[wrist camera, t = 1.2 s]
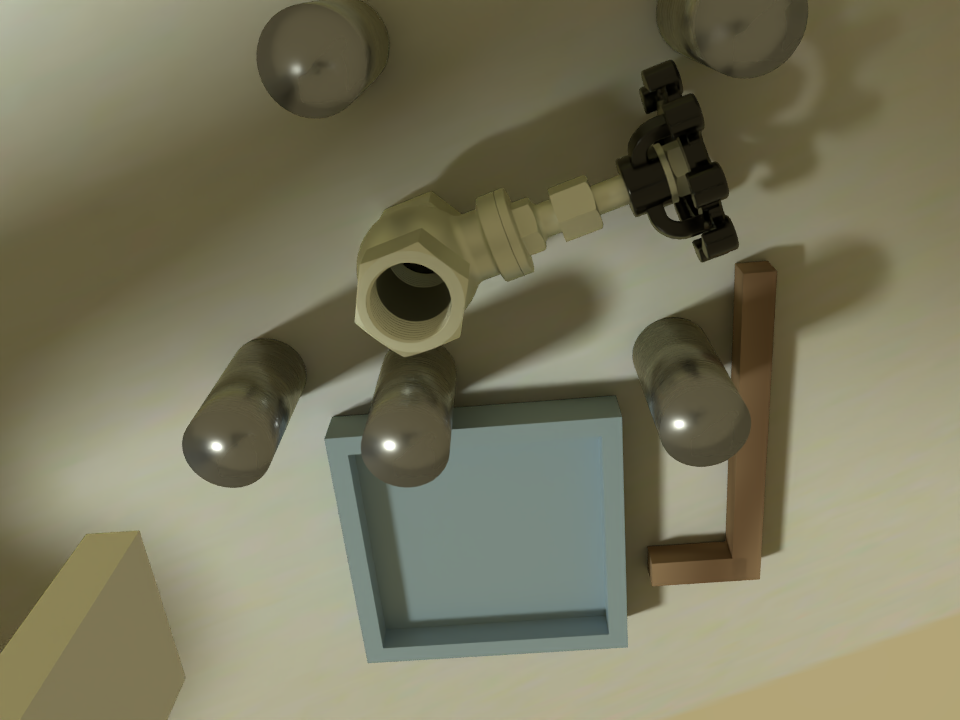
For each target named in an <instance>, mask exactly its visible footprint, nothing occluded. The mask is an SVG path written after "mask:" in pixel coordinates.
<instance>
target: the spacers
mask: <svg viewBox="0 0 960 720" xmlns="http://www.w3.org/2000/svg"><path fill="white" fill-rule="evenodd" d="M807 18H808V3H807V0H658V2H657V8H656V19H657V25H658V28H659V31H660V34H661V36H662V38H663V39H664V41H665V42H666V43H667V44H668V45H669V46H670V47H671V48H672V49H673V50H675V51H676V52H678V53H680V54H682V55H684V56H686V57H689V58H691V59H693V60H695V61H697V62H699V63H701V64H703V65H706V66H708V67H710V68H712V69H714V70H716V71H718V72H721V73H723V74H725V75H728V76H731V77H735V78H753V77H758V76H761V75H764V74H766V73H769V72H771V71H773V70H774V69H776V68H778V67H779V66H780V65H781V64H783V63H784V62H785V61H786V60H787V59H788V58H789V57H790V56H791V55H792V53H793V52H794V51H795V49H796V48H797V46H798V45H799V43H800V41H801V39H802V37H803V34H804V32H805V28H806V24H807ZM388 55H389V38H388V33H387V30H386V27H385V25H384V23H383V21H382V20H381V18H380V16H379V15H378V14H377V13H376V12H375V11H374V10H373V9H372V8H371V7H370V6H369V5H367V4H366V3H364V2H362V1H360V0H317V1H312V2H307V3H302V4H297V5H293V6H290V7H287V8H285V9H283V10H281V11H280V12H278V13H277V14H276V15H274V16H273V17H272V18H271V19H270V20H269V22H268V23H267V24H266V26H265V27H264V29H263V31H262V33H261V36H260V38H259V42H258V46H257V66H258V71H259V75H260V77H261V80H262V82H263V84H264V86H265V88H266V90H267V91H268V93H269V94H270V95H271V97H272V98H273V99H274V100H275V101H276V102H277V103H278V104H279V105H280V106H282V107H283V108H285V109H286V110H288V111H290V112H291V113H294V114H296V115H299V116H302V117H306V118H324V117H329V116H332V115H335V114H337V113H339V112H341V111H342V110H344V109H345V108H346V107H348V106H349V105H350V104H351V103H352V102H353V101H354V100H355V99H356V98H357V97H358V96H359V95H360V94H361V93H362V92H363V91H364V90H365V89H366V88H367V87H368V86H369V85H370V84H371V83H372V82H373V81H374V80H375V79H376V78H377V77H378V76H379V75H380V74H381V72H382V71H383V69H384V67H385V65H386V62H387V59H388ZM632 356H633V363H634V366H635V369H636V372H637V375H638V378H639V380H640V383H641V386H642V389H643V392H644V394H645V397H646V400H647V403H648V406H649V409H650V411H651V414H652V417H653V420H654V423H655V425H656V428H657V431H658V434H659V437H660V439H661V442H662V445H663V447H664V448H665V450H666V451H667V452H668V454H669V455H670V456H672V457H673V458H674V459H676V460H677V461H679V462H681V463H683V464H686V465H690V466H697V467H705V466H712V465H716V464H719V463H722V462H724V461H726V460H728V459H729V458H731V457H732V456H734V455H735V454H736V453H737V452H738V451H739V450H740V449H741V448H742V447H743V445H744V444H745V442H746V441H747V439H748V436H749V433H750V430H751V417H750V413H749V410H748V408H747V406H746V404H745V403H744V401H743V399H742V397H741V396H740V394H739V392H738V390H737V389H736V387H735V385H734V384H733V382H732V380H731V378H730V377H729V375H728V373H727V371H726V370H725V368H724V366H723V364H722V363H721V361H720V359H719V358H718V356H717V354H716V352H715V351H714V349H713V347H712V345H711V344H710V342H709V340H708V339H707V337H706V335H705V333H704V332H703V331H702V329H701V328H700V327H699V326H697V325H696V324H695V323H693V322H691V321H689V320H686V319H682V318H666V319H662V320H659V321H656V322H654V323H653V324H651V325H649V326H648V327H647V328H646V329H644V330H643V331H642V333H641V334H640V335H639V336H638V338H637V340H636V342H635V344H634V347H633V355H632ZM306 375H307V374H306V368H305V365H304V363H303V361H302V359H301V357H300V356H299V355H298V353H297V352H296V351H295V350H294V349H292V348H291V347H290V346H288V345H287V344H285V343H283V342H280V341H277V340H273V339H257V340H253V341H250V342H248V343H246V344H245V345H243V346H242V347H241V348H240V349H239V350H238V351H237V353H236V354H235V356H234V357H233V359H232V360H231V362H230V363H229V365H228V366H227V368H226V369H225V371H224V372H223V374H222V375H221V377H220V378H219V380H218V381H217V383H216V385H215V386H214V388H213V389H212V391H211V392H210V394H209V395H208V397H207V398H206V400H205V401H204V403H203V404H202V406H201V407H200V409H199V410H198V412H197V413H196V415H195V416H194V418H193V419H192V421H191V422H190V424H189V425H188V427H187V428H186V430H185V433H184V436H183V441H182V448H183V453H184V456H185V459H186V461H187V463H188V464H189V466H190V467H191V468H192V470H193V471H194V472H195V473H196V474H198V475H199V476H200V477H201V478H203V479H204V480H206V481H208V482H210V483H212V484H215V485H218V486H222V487H230V488H236V487H243V486H247V485H250V484H252V483H254V482H256V481H257V480H259V479H260V478H261V477H262V476H263V475H264V474H265V473H266V471H267V470H268V468H269V466H270V463H271V461H272V459H273V457H274V454H275V452H276V450H277V448H278V445H279V443H280V441H281V439H282V436H283V434H284V432H285V430H286V427H287V425H288V423H289V421H290V418H291V416H292V414H293V412H294V409H295V407H296V405H297V403H298V400H299V398H300V396H301V394H302V391H303V389H304V387H305V384H306ZM455 386H456V365H455V362H454V360H453V358H452V356H451V355H450V353H449V352H448V351H447V350H446V349H445V348H444V347H443V346H438V347H436V348H433V349H431V350H428V351H425V352H422V353H419V354H415V355H412V356H408V357H403V356H401V355H399V354H398V353H396V352H394V351H392V350H391V349H390V350H389V351H388V353H387V354H386V356H385V358H384V360H383V363H382V367H381V371H380V374H379V378H378V381H377V385H376V389H375V392H374V396H373V400H372V403H371V407H370V411H369V414H368V418H367V421H366V425H365V429H364V432H363V436H362V440H361V455H362V458H363V461H364V463H365V465H366V467H367V468H368V469H369V471H370V472H371V473H372V474H373V475H374V476H375V477H377V478H378V479H380V480H381V481H383V482H385V483H387V484H390V485H393V486H397V487H405V488H407V487H417V486H421V485H424V484H427V483H429V482H431V481H432V480H434V479H435V478H437V477H438V476H439V475H440V474H441V473H442V471H443V470H444V469H445V467H446V465H447V463H448V460H449V455H450V444H451V432H452V420H453V409H454V397H455Z"/></svg>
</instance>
